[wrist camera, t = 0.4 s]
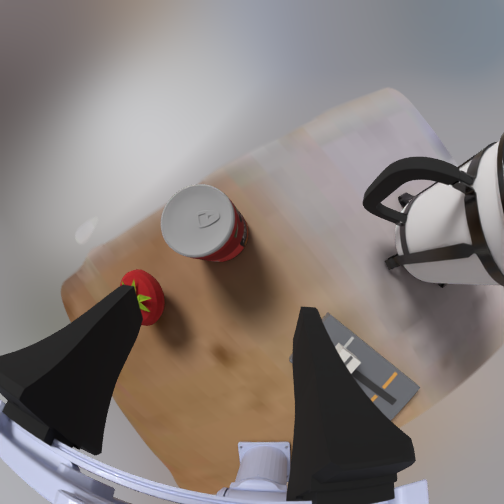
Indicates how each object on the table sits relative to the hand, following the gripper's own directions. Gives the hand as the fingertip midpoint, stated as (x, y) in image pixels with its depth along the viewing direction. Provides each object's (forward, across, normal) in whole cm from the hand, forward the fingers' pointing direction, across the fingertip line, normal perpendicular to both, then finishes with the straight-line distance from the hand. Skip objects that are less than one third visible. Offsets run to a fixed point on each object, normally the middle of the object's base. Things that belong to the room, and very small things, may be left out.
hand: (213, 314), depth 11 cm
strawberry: (+20, +13, +18) cm, 30 cm away
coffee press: (+24, -23, +8) cm, 35 cm away
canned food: (+25, +5, +10) cm, 28 cm away
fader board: (+13, -17, +23) cm, 32 cm away
